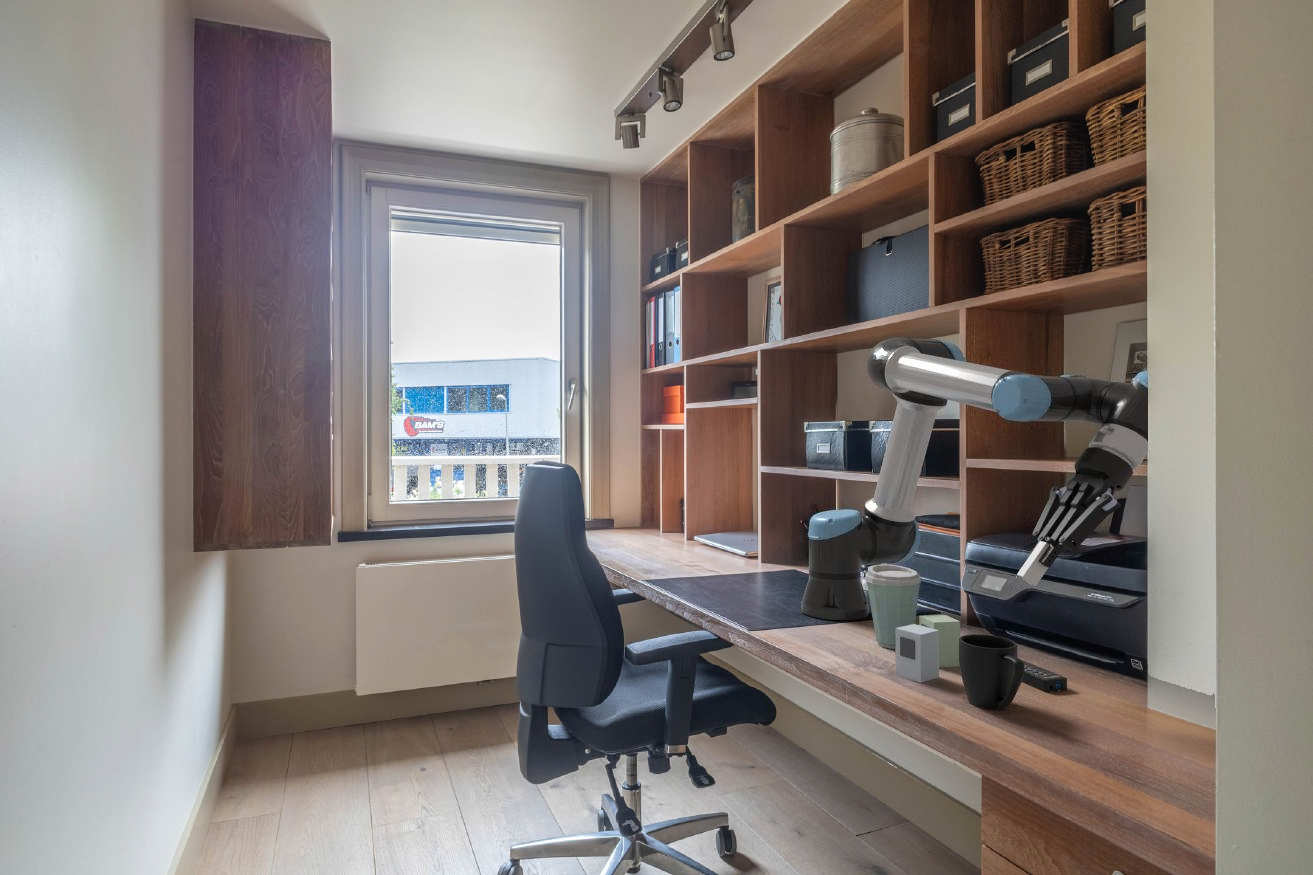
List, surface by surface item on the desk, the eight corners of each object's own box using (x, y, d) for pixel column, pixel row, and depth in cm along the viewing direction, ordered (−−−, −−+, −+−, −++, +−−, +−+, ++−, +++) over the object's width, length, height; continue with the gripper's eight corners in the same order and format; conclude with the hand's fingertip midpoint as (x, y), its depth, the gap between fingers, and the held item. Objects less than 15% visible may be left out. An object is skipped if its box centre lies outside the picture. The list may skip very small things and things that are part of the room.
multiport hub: (1018, 671, 128) (1018, 658, 128) (1068, 692, 118) (1068, 678, 118) (997, 673, 127) (997, 660, 127) (1045, 694, 117) (1045, 680, 117)
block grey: (894, 674, 125) (894, 628, 125) (914, 669, 128) (914, 623, 128) (919, 683, 121) (919, 634, 121) (939, 677, 124) (939, 630, 124)
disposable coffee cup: (934, 648, 141) (934, 570, 141) (892, 656, 136) (892, 575, 136) (893, 634, 150) (893, 562, 150) (852, 641, 145) (852, 566, 145)
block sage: (918, 659, 134) (918, 615, 134) (944, 657, 135) (944, 614, 135) (932, 667, 129) (932, 622, 129) (959, 666, 130) (959, 621, 130)
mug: (991, 724, 104) (991, 657, 104) (948, 694, 116) (948, 634, 116) (1045, 721, 105) (1045, 655, 105) (997, 692, 117) (997, 632, 117)
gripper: (1064, 443, 122) (984, 558, 120) (1125, 446, 109) (1035, 575, 107) (1097, 469, 123) (1017, 584, 121) (1160, 476, 110) (1072, 604, 108)
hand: (1026, 580), depth 114 cm, fingers closed
